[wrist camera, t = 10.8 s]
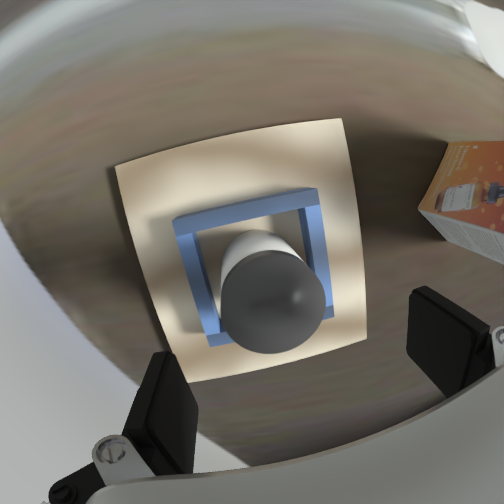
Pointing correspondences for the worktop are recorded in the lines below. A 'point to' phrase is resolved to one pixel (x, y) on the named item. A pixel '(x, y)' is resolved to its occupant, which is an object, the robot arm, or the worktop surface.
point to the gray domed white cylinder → (268, 294)
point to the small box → (469, 197)
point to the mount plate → (239, 221)
